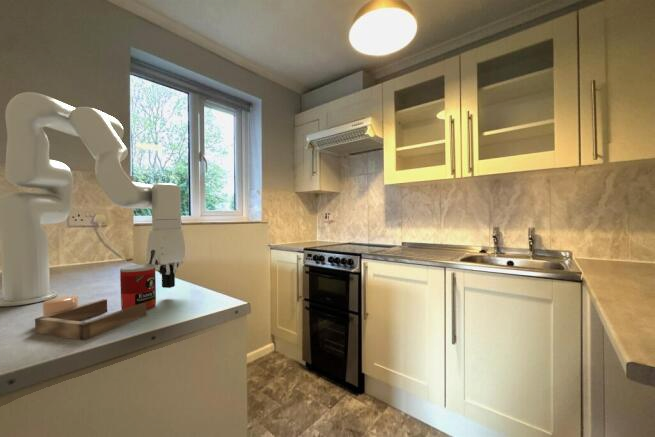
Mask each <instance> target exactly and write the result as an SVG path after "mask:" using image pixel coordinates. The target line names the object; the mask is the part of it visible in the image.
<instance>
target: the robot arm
mask: <svg viewBox="0 0 655 437" xmlns="http://www.w3.org/2000/svg"><path fill="white" fill-rule="evenodd" d="M4 115H5V123H6V125H5V126H6V133H7V134H6V135H7V141H6V154H5V167H4V173H5V174H4V175H5V179H6V180H7V182H9V184H11V185H14V186H16V187H21V188H25V189H34V190H35V189H38V190H39V192H27V191H26V192H25V191H24V192H23V191H13V192H8V193H6V194H2V195H1V196H0V255H1V256H0V258H1V283H2V288H0V292H1V293H2V297H0V307H16V306H23V305H29V304H34V303H40V302H44V301H46V300H49V299H53V298H56V297H57V296H58V292H57V291H56V290H51V287H50V286H51V284H50V255H49V254H50V253H49V252H50V251H49V238H48V234H47V233H46V230H45V229H44V227H43V226H42V225H54V224H60V223H62V222H65V221H66V220H67V218H68V217H69V216H70V213H71V212H72V203H73V202H72V201H73V188H74V177H73V176H74V175H73V173H72V171H71V168H70V167H69V166H68V165H66V164H65V163H63V162H61V161H58V160H54V159H50V141H49V139H48V136H47V134H46V132H45V130H44V127H46V128H49V129H51V130H52V129H53V130H55V131H58V132H62V133H65V134H68V135H69V136H70V135H71V136H74V137H78V138H79V139H80V140H81V141H82V143H83V145H85V147H86V148H87V150H88V152H89V153H90V154H91V156H92V157H93V159H94V160H95V163H94V164H95V165H94V170H95V171H94V172H95V173H94V174H95V178H96V181H97V183H98V184H99V186H100V187H101V189H102V190H103V192H104V194H105V195H106V196H107V197H108V198H109V200H110V201H111V202H112V203H113V204H114V205H116V206H118V207H120V208H123V209H137V210H139V209H140V210H150V209H151V226H152V227H151V228H152V230H150V231H149V234H148V238H147V246H146V264H152V265H155V271H158V272H159V275H161V288H164V289H167V288H168V289H171V288H174V287H175V286H176V279H175V278H176V277H175V276H176V275H175V274H176V273H177V270H178V268H179V267H180V266H182V265H183V264H184V260H185V257H186V244H185V236H184V233H183V232H184V231H183V229H182V224H183V222H182V203H181V202H182V201H181V200H182V198H181V197H182V196H181V187H180V186H179V185H178V184H175V183H168V182H167V183H164V182H161V183H160V182H159V183H155V184H149V183H148V184H147V183H142V182H136V181H132V180H131V178H130V177H129V176H128V175H127V173H126V171H125V170H124V169H123V167H122V166H123V165H122V164H121V162H123V161H124V160H125V159H126V158H127V156H128V155H129V154H128V153H129V151H128V148H127V147H126V145H125V144H124V143H123V141H122V139H123V137H124V132H125V130H124V127H123V125H122V124H121V123H120V121H119V120H118V119H116V118H115V117H113V116H111V115H109V114H107V113H106V112H102V111H101V110H98V109H96V108H93V107H89V106H78V107H73V106H71V105H69V104H67V103H65V102H62V101H60V100H59V99H56V98H53V97H51V96H50V95H49V96H48V95H45V94H42V93H38V92H32V91H25V92H21V93H18V94H16V95H14V96H13V97H12V98H11V99H10V100H9V101H8V103H7V105H6V108H5V114H4Z"/></svg>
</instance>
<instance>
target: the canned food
mask: <svg viewBox="0 0 655 437" xmlns="http://www.w3.org/2000/svg"><path fill="white" fill-rule="evenodd" d="M119 276H120V277H119V279H120V282H119V283H120V307H121V310H123V309H126V308H129V307H132V306H135V305H137V304H140V303H146V311H148V310H150V309H151V310H152V309H153V308H154V307H155V306H156V304H157V298H156V297H157V294H156V293H157V287H156V281H157V280H156V270H155V265H152V264H148V263H145V264H132V265H126V266H122V267H120V268H119Z"/></svg>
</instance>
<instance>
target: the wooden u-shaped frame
mask: <svg viewBox="0 0 655 437" xmlns="http://www.w3.org/2000/svg"><path fill="white" fill-rule="evenodd" d="M147 311H148V310H146V303H140V304H137V305H135V306H132V307H129V308H126V309H123V310H122V309H121V310H117V311H114V312H111V313H109V314H106V315H102V316H99V317H97V318H94V319H91V320H89V321H81V320H85V319H87V318H90V317H91V318H92V317H94V316H97V315H100V314H103V313H105V312H108V299H104V298H103V299H99V300H96V301H93V302H89V303H88V302H87V303H85V304H82V305H78V307H74V308H71V309H67V310H64V311H60V312H57V313H53V314H50V315H46V316H40V317H36V318H34V323H35V324H34V326H35V330H34V331H35V334H41V335H45V336H46V335H48V336H54V337H61V338H68V339H74V340H79V341H80V340H81V341H85V340H88V339H90V338H93V337H96V336H98V335H101V334H103V333H105V332H108V331H110V330H113V329H115V328H116V329H117V328H119V327H121V326H123V325H125V324H128V323H131V322H133V321H136V320H139V319H141V318H144V317H146V316H147V315H148V314H147Z"/></svg>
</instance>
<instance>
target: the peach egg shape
mask: <svg viewBox="0 0 655 437" xmlns="http://www.w3.org/2000/svg"><path fill="white" fill-rule="evenodd" d="M78 306H79V297H78V295H65V296H59V297H53V298H51V299H48V300H44V301H42V314H43V316H46V315H50V314H53V313H57V312H60V311H64V310H67V309H71V308H74V307H78ZM43 316H42V317H43Z"/></svg>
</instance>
